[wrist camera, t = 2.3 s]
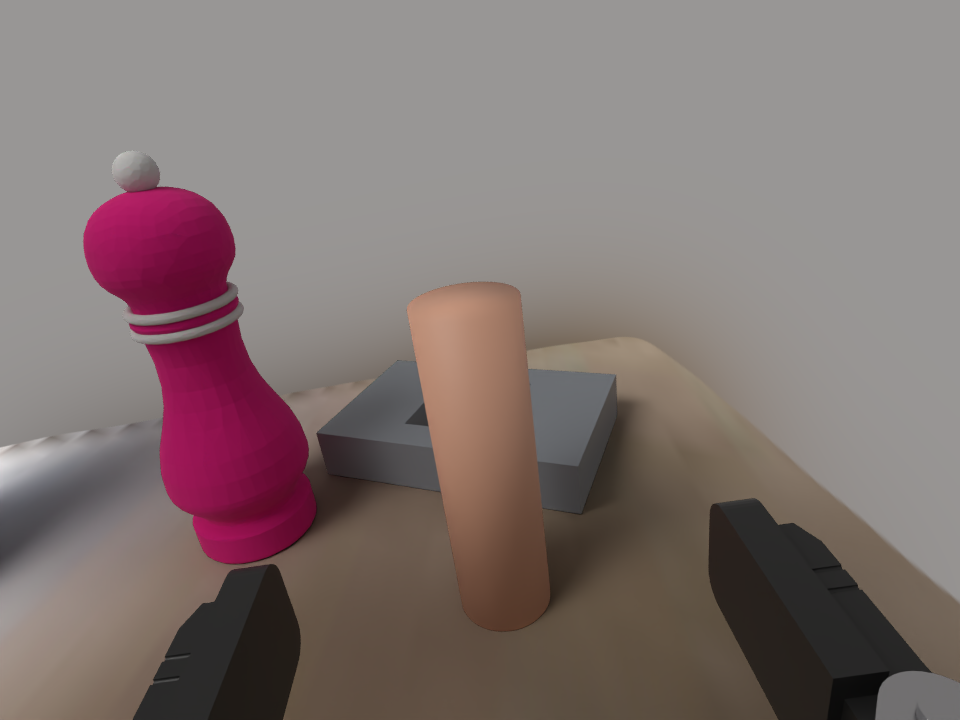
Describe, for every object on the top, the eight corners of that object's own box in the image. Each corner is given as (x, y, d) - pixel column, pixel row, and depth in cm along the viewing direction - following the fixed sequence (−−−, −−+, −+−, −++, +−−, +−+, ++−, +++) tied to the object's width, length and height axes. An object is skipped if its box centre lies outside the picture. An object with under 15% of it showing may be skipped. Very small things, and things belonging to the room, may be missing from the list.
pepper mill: (334, 476, 37) (239, 133, 28) (313, 561, 30) (181, 147, 22) (218, 493, 37) (87, 154, 28) (171, 582, 30) (-17, 174, 22)
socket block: (327, 473, 37) (316, 432, 36) (404, 395, 45) (397, 360, 44) (581, 513, 31) (578, 466, 30) (617, 415, 39) (615, 374, 38)
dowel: (447, 619, 26) (385, 320, 20) (481, 554, 29) (437, 281, 23) (535, 641, 24) (496, 324, 18) (560, 570, 28) (535, 281, 22)
